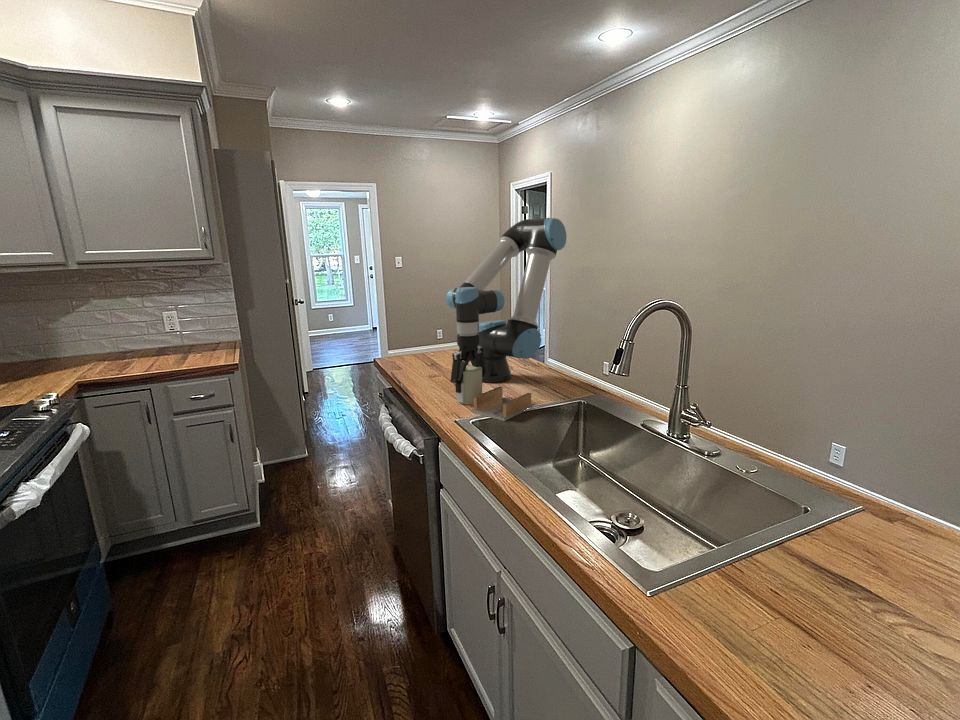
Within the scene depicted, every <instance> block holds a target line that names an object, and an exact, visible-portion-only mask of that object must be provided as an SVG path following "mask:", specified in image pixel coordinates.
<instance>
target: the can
mask: <svg viewBox="0 0 960 720" xmlns="http://www.w3.org/2000/svg"><path fill="white" fill-rule="evenodd" d="M462 383H464V402H459V401H457V399H456V402H457V403H458V404H461V405H469V406H470V405H471V406H472V405H474V397H475V396H478V395H480V394H482V393H483V382H482V367H480V366H479V367H475V366H472V364H468V365H467V366H466V370H465V371H464V372H463V380H462Z"/></svg>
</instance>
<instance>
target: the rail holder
mask: <svg viewBox="0 0 960 720" xmlns="http://www.w3.org/2000/svg"><path fill="white" fill-rule="evenodd" d="M503 392H504V391H503V386H498V387H495V388H493V389H490V390H488V391H486V392H482V394H480V395H478V396H475V397H474V404H473V409H471V413H472V414H476V415H479V414H481V415H480V416H483V415H486V416H485V417H487V416H490V417H491V419H494V420H499V421H503V422H506V421H508V420H509V419H510V420H511V418H515V417H516V416H518V415H519V414H522V413H524V412H525V411H524V410H526V409H527V408H530V407H532V406H533V407H534V404H533V403H532V393H531V392H527V393H525V394H522V395H519V396H518V397H515V398H513V399H512V398H507V397H503V396H504V395H503ZM533 407H532V408H533ZM530 409H531V408H530ZM523 411H524V412H523ZM526 411H527V410H526ZM490 417H489V418H490Z"/></svg>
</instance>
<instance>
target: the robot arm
mask: <svg viewBox="0 0 960 720" xmlns="http://www.w3.org/2000/svg"><path fill="white" fill-rule="evenodd" d="M566 243H567V230H566V227H565V225H564V222H562V221H561V219H560V218H559V219H558V218H556V217H553V218H552V217H545V218H534V219H532V218H531V219H526V218H525V219H523V220H520V221H518V222H516V223H514V225H512V226H511V227H509V228H508V229H507V230H506V231H505V232H504V233H503V234H502V235H501V236H500V237H499V238H498V240H497V244H496V245H495V247H494V248H493V249H492V250H491V251H490V252H489V254H487V256H486V257H484V259H483V260H482V261H481V262H480V264H479V265H478V266H477V267H476V268H475V269H474V270H473V272H472V273H471V274H469V276H468V277H467V278H466V279H465V281H464V282H463V283H462V284H461V285H460V286H459V287H458V288H457V287H456V288H455V287H454V288H451V289H449V290H448V292H447V293H446V297H445V298H446V300H445V301H446V304H447V306H448V307H449V308H451V309H453V310H454V309H455V313H456V314H455V316H456V319H455V320H456V333H457V335H456V345H457V346H458V348H459V349H458V352H453V353H452V354H451V355H452V366H451V374H450V382H451V383H453V384H455V393H456V400H457V401H459V402H464V383H462V380H463V372H464V371H465V370H466V366H467V365H469V362H470V363H471V365H472V366H475V367H479V366H480V367H482V383H489V384H490V383H503V382H505V381H509V380H510V379H511V377H512V373H511V370H510V366H509V363H508V359H507V357H512V358H515V359H519V360H520V359H524V360H528V359H531V358H533V356H535V355H536V354H537V353H538V352H539V350H540V347H541V344H542V337H541V336H542V334H541V332H540V331H539V330H538V329H539V325H538V323H537V322H536V321H537V316H538V313H539V310H540V309H539V308H540V306H541V305H540V304H541V300H542V296H543V292H544V289H545V284H546V282H547V281H546V280H547V277H548V273H549V269H550V265H551V261H552V260H554V259H555V258H556V257H557V251H561V250H563V248H565V246H566ZM524 251H525V252H526V254H527V255H528V257H527V261H526V264H525V268H524V272H523V275H522V279H521V283H520V288H519V292H518V296H517V299H516V304H515V308H514V310H513V311H514V313H513V315H512V316H511V317H510V318H508V320H507V321H506V320H505V319H498V320H497V319H496V320H488V321H482V322H480V315H484V314H491V313H497V312H499V311H501V310H503V308H504V306H505V302H506V301H505V296H504V294H503V293H502V292H501V291H500V290H497V289H496V290H495V289H494V290H493V289H490V290H486V289H487V287H488V286H490V284H491V283H492V282H493V281H494V279H495V278H496V277H497V276H498V275H499V273H500V272H501V271H502V270H503V269H504V267H506V265H507V264H508V263H509V261H511V260H512V258H515V257H517V256H518V255H520V253H521V252H524ZM457 401H456V402H457Z"/></svg>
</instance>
